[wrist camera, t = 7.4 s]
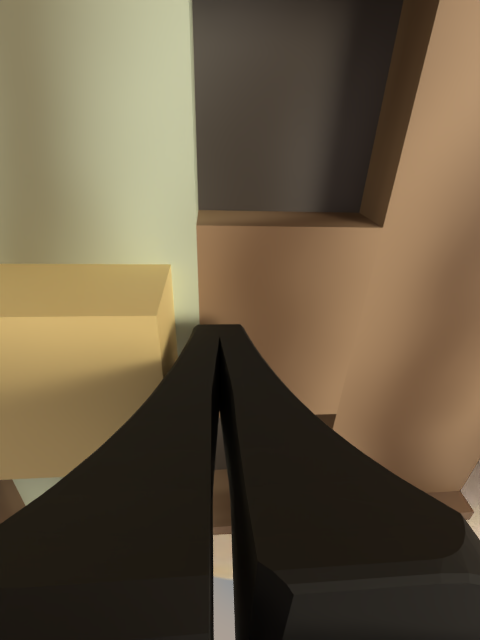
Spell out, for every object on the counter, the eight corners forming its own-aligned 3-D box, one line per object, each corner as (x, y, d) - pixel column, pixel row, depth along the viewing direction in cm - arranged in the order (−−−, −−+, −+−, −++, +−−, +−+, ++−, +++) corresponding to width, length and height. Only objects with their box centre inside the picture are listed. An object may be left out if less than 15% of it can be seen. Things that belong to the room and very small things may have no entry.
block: (170, 264, 9) (156, 316, 7) (181, 399, 12) (173, 471, 9) (-24, 263, 9) (-112, 317, 6) (31, 404, 11) (-18, 480, 9)
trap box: (682, -35, 8) (1091, -169, 4) (432, 462, 18) (492, 555, 14) (-233, -111, 7) (-836, -424, 3) (34, 480, 16) (-20, 591, 13)
